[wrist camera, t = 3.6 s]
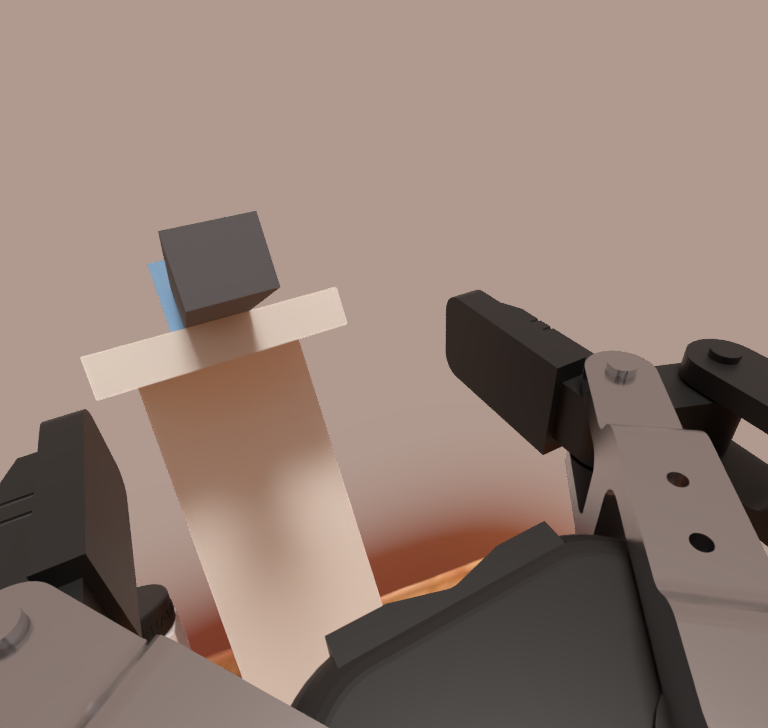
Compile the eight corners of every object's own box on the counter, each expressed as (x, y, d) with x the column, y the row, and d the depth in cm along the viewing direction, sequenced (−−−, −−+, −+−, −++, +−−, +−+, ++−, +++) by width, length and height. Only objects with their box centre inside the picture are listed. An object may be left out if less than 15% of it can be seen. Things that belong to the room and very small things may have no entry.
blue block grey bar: (300, 281, 17) (262, 160, 16) (161, 318, 15) (115, 185, 15) (243, 320, 33) (223, 261, 33) (174, 339, 32) (153, 278, 31)
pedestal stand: (509, 804, 30) (353, 281, 26) (284, 974, 25) (54, 364, 21) (393, 645, 47) (288, 311, 43) (245, 729, 42) (111, 362, 38)
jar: (135, 803, 38) (78, 662, 37) (93, 763, 43) (42, 639, 42) (233, 709, 45) (188, 587, 43) (186, 685, 50) (145, 575, 49)
